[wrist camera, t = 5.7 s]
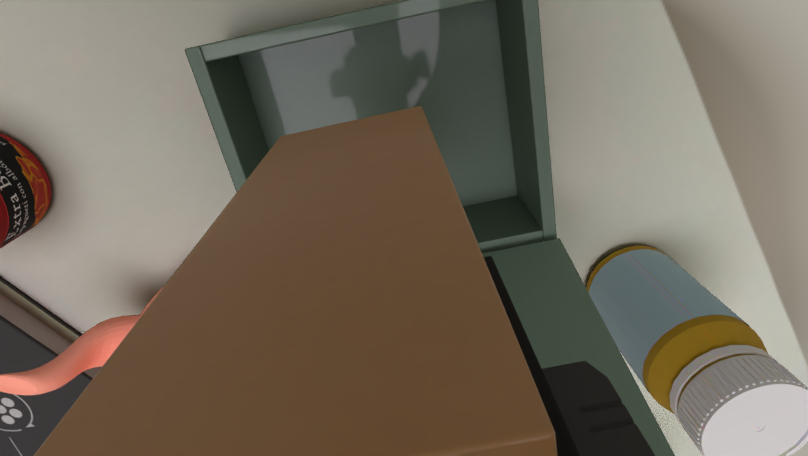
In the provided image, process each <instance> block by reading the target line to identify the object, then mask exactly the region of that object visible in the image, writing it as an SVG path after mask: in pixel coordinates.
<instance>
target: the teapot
mask: <svg viewBox="0 0 808 456" xmlns="http://www.w3.org/2000/svg"><path fill="white" fill-rule="evenodd" d="M162 289H163V287H162V288H161V289H160V290H159V291H158V293H157V294H156V295H155V296H154V297H153V298H152V299H151V301H150V302H149V303H148V304H147V306H146V307H145V308H144V310H143V311H142V313H141V314H140V315H134V316H121V317H116V318H110V319H108V320H106V321H103V322H101V323H99V324H97V325H96V326H94V327H92V328H91V329H89V330H88V331H86V332H85V333H84V334H83V335H81V336H80V337H79V338H78V339H77V340H76V341H75V342H74V343H72V344H71V345H70V346H69V347H68V348H67V349H66V350H65V351H63V352H62V353H61V354H60V355H58V356H57V357H56V358H54V359H53V360H52V361H50V362H48V363H46V364H44V365H42V366H41V367H38V368H35V369H32V370H29V371H25V372H17V373H9V374H0V391H1V392H5V393H9V394H16V395H38V394H43V393H47V392H50V391H53V390H55V389H58V388H60V387H62V386H63V385H65V384H67V383H68V382H69V381H71V380H72V379H73V378H75V377H76V376H77V375H79V374H80V373H82V372H83V371H85V370H87V369H90V368H94V367H102V366H103V365H104V364H105V362H106V361H107V360H108V359H109V357H110V356H111V355H112V353H113V352H114V351H115V350H116V348H117V347H118V346H119V344H120V343H121V342H122V340H123V339H124V338H125V337H126V335H127V334H128V333H129V331H130V330H131V329H132V328H133V326H134V325H135V324H136V322H137V321H138V320H139V318H140V317H141V316H142V315H143V313H144V312H145V311H146V309H147V308H148V307H149V306H150V304H151V303H152V302H153V300H154V299H155V298H156V296H157V295H158V294H159V293H160V291H161V290H162Z"/></svg>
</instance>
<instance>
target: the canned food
mask: <svg viewBox="0 0 808 456" xmlns="http://www.w3.org/2000/svg"><path fill="white" fill-rule="evenodd" d="M50 201H51V186H50V181H49V178H48V176H47V173H46V171H45V169H44V168H43V166H42V165H41V163H40V162H39V160H38V159H37V158H36V157H35V156H34V155H33V154H32V153H31V152H30V151H29V150H28V149H27V148H25V147H24V146H23V145H22V144H20V143H19V142H17V141H15V140H14V139H12V138H10V137H8V136H6V135H3V134H1V133H0V248H1V247H3V246H5V245H6V244H8V243H9V242H11V241H13V240H14V239H16V238H17V237H19V236H20V235H22V234H24V233H25V232H27V231H28V230H30V229H32V228H33V227H34V226H35V225H36V224H38V223H39V222H40V220H41V219H42V217H43V216H44V214H45V213H46V211H47V209H48V208H49V204H50Z"/></svg>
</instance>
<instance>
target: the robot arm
mask: <svg viewBox="0 0 808 456" xmlns="http://www.w3.org/2000/svg"><path fill="white" fill-rule="evenodd" d="M484 260H485V262H486V265H487V267H488V270H489V272H490V274H491V277H492V279H493V282H494V284H495V287H496V289H497V292H498V294H499V296H500V299H501V301H502V304H503V306H504V309H505V311H506V314H507V316H508V318H509V321H510V323H511V326H512V328H513V331H514V333H515V335H516V338H517V340H518V343H519V345H520V348H521V350H522V353H523V355H524V357H525V360H526V362H527V365H528V367H529V370H530V372H531V375H532V377H533V379H534V382H535V384H536V387H537V389H538V392H539V394H540V397H541V399H542V401H543V404H544V406H545V409H546V411H547V414H548V416H549V419H550V421H551V423H552V426H553V428H554V431H555V436H556V446H557V456H655V454H654V453H653V451H652V449H651V448H650V446H649V444H648V443H647V441H646V439H645V438H644V436H643V435H642V433H641V431H640V430H639V428H638V426H637V425H636V424H634V421H633V418H632V416H631V415H630V413H629V412H628V410H627V408H626V407H625V405H623V404H622V401H621V398H620V397H619V395H618V394H617V392H616V390H615V389H614V387H613V385H612V384H611V382H610V380H609V379H608V377H606V376H605V375H604V374H602V373H601V372H600V371H598V370H597V369H596V368H594V367H593V366H592V365H590V364H589V363H588V362H587V361H580V362H575V363H570V364H564V365H559V366H554V367H549V368H543V369H541V366H540V364H539V362H538V359H537V357H536V355H535V353H534V350H533V348H532V346H531V344H530V341H529V339H528V337H527V335H526V332H525V330H524V328H523V326H522V323H521V321H520V319H519V317H518V314H517V312H516V310H515V308H514V305H513V303H512V301H511V298H510V296H509V294H508V292H507V289H506V287H505V285H504V283H503V280H502V278H501V276H500V274H499V271H498V269H497V267H496V265H495V262H494V260H493V258H492V256H487V257H484Z"/></svg>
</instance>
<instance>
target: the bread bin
mask: <svg viewBox="0 0 808 456" xmlns="http://www.w3.org/2000/svg"><path fill="white" fill-rule="evenodd" d="M185 53H186V55H187V58H188V61H189V63H190V66H191V69H192V72H193V74H194V77H195V80H196V82H197V85H198V88H199V91H200V93H201V96H202V99H203V102H204V104H205V107H206V110H207V112H208V115H209V118H210V121H211V123H212V126H213V129H214V132H215V134H216V137H217V140H218V142H219V145H220V148H221V151H222V153H223V156H224V159H225V162H226V164H227V167H228V170H229V172H230V175H231V178H232V181H233V183H234V186H235V189H236V191H237V192H238V190H239V189H240V188H241V187H242V185H243V184H244V183H245V181H246V180H247V179H248V178H249V176H250V175H251V174H252V172H253V171H254V170H255V168H256V167H257V166H258V165H259V163H260V162H261V161H262V159H263V158H264V157H265V156H266V154H267V153H268V152H269V150H270V149H271V148H272V147H273V145H274V144H275V143H276V141H277V140H278V139H279V137H280V136H284V135H288V134H293V133H298V132H302V131H307V130H311V129H316V128H321V127H325V126H330V125H334V124H339V123H344V122H348V121H353V120H357V119H362V118H367V117H371V116H376V115H380V114H385V113H390V112H394V111H399V110H403V109H408V108H413V107H417V106H422V108H423V111H424V113H425V116H426V118H427V121H428V123H429V125H430V128H431V130H432V133H433V135H434V138H435V140H436V143H437V145H438V147H439V150H440V152H441V155H442V157H443V160H444V162H445V164H446V167H447V169H448V172H449V174H450V177H451V179H452V182H453V184H454V186H455V189H456V191H457V194H458V196H459V199H460V201H461V204H462V206H463V208H464V211H465V213H466V216H467V218H468V221H469V223H470V226H471V228H472V230H473V233H474V235H475V238H476V240H477V243H478V245H479V248H480V250H481V252H482V254H483V253H488V252H493V251H498V250H503V249H508V248H513V247H518V246H523V245H528V244H533V243H538V242H543V241H549V240H554V239H556V238H557V237H556V224H555V211H554V198H553V186H552V173H551V160H550V148H549V135H548V122H547V110H546V97H545V84H544V71H543V59H542V46H541V33H540V21H539V8H538V0H403V1H398V2H394V3H389V4H385V5H380V6H376V7H371V8H367V9H362V10H358V11H353V12H349V13H344V14H340V15H335V16H331V17H326V18H322V19H317V20H313V21H308V22H304V23H299V24H295V25H290V26H286V27H281V28H277V29H272V30H268V31H263V32H259V33H254V34H250V35H245V36H241V37H236V38H232V39H227V40H223V41H218V42H214V43H209V44H205V45H201V46H196V47H191V48H187V49H185Z"/></svg>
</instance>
